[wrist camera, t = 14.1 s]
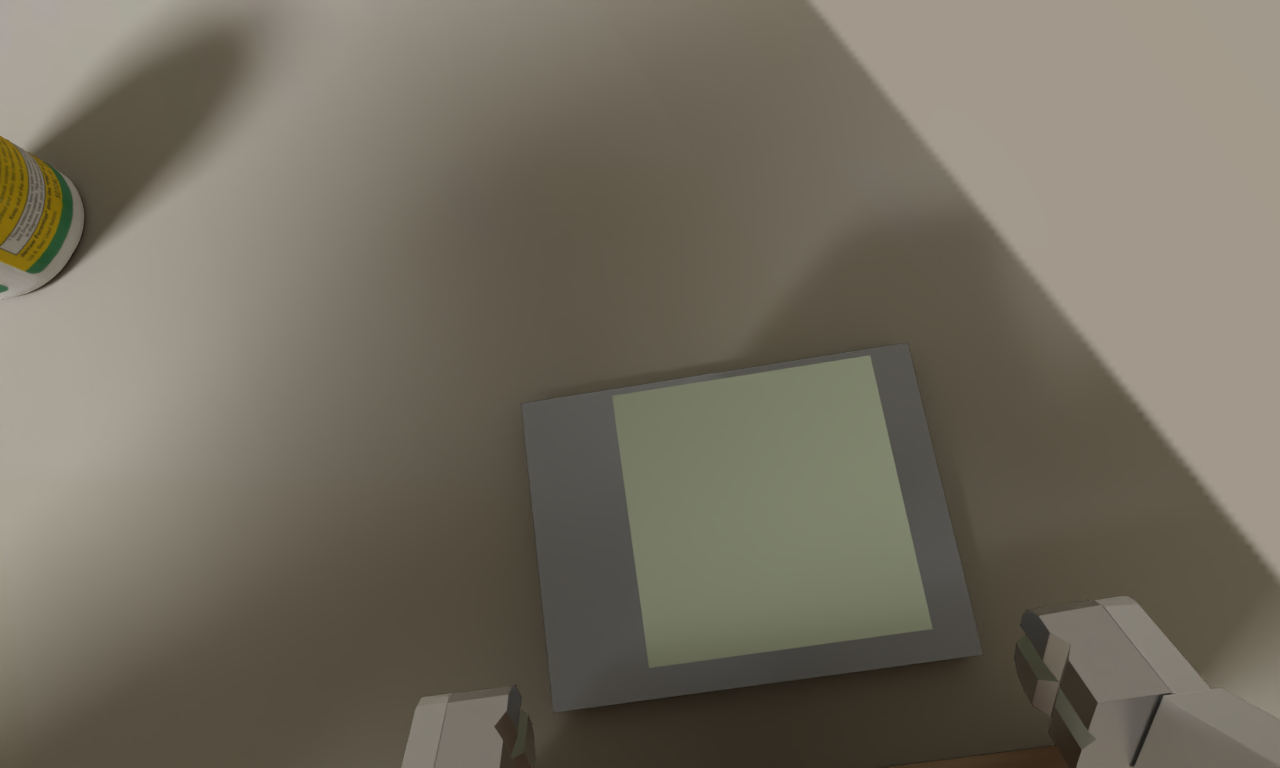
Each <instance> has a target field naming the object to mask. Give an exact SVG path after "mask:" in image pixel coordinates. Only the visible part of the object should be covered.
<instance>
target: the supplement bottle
mask: <svg viewBox="0 0 1280 768" xmlns="http://www.w3.org/2000/svg"><path fill="white" fill-rule="evenodd" d="M83 226H84V208H83V204H82V201H81V198H80V195H79V193H78V191H77V189H76V188H75V186H74V184H73V183H72V182H71V181H70V179H68V178H67V177H66V176H65V175H64V174H62V173H61V172H60V171H58V170H57V169H55V168H53V167H52V166H50V165H49V164H47V163H45V162H44V161H42V160H40V159H39V158H37V157H35V156H34V155H32V154H30V153H28V152H27V151H25V150H23V149H22V148H20V147H19V146H17V145H15V144H13V143H12V142H10V141H9V140H7V139H5V138H3V137H1V136H0V299H2V298H11V297H16V296H20V295H23V294H26V293H29V292H31V291H33V290H35V289H37V288H39V287H41V286H42V285H44V284H46V283H47V282H48V281H50V280H51V279H52V278H53V277H54V276H56V275H57V274H58V273H59V272H60V271H61V270H62V268H63V267H64V266H65V265H66V263H67V262H68V260H69V259H70V257H71V255H72V253H73V252H74V250H75V249H76V247H77V245H78V243H79V241H80V238H81V235H82V231H83Z"/></svg>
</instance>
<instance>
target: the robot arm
mask: <svg viewBox="0 0 1280 768" xmlns="http://www.w3.org/2000/svg"><path fill="white" fill-rule="evenodd" d="M1020 626H1021V627H1022V629H1023V630H1024V632H1025V634H1026V635H1025V636H1024V637H1023V638H1022V639H1021V640H1020V641H1019V642H1018V643H1017V644H1016V649H1015V656H1014V659H1015V665H1016V670H1017V675H1018V678H1019V680H1020V682H1021V685H1022V687H1023V690H1024V691H1025V693H1026V695H1027V697H1028V698H1029V700H1030V702H1031V704H1032V705H1033V706H1035V707H1036V708H1038V709H1039V710H1041V711H1042V712H1044V713H1045V714H1047V715H1048V716H1050V723H1049V731H1048V733H1049V734H1050V736H1051V738H1052V739H1053V741H1054V743H1055V744H1056V746H1057V748H1058V749H1059V751H1060V753H1061V754H1062V756H1063V758H1064V759H1065V761H1066V763H1067V764H1068V766H1069V768H1280V720H1279V719H1278V718H1276V717H1274V716H1272V715H1270V714H1269V713H1267V712H1265V711H1263V710H1261V709H1259V708H1258V707H1256V706H1254V705H1252V704H1250V703H1249V702H1247V701H1245V700H1243V699H1241V698H1240V697H1238V696H1236V695H1234V694H1232V693H1230V692H1229V691H1227V690H1225V689H1223V688H1212V689H1211V688H1210V687H1209V686H1208V684H1207V683H1206V682H1205V681H1204V680H1203V679H1202V677H1201V676H1200V675H1199V674H1198V673H1197V672H1196V670H1195V669H1194V668H1193V667H1192V666H1191V665H1190V664H1189V662H1188V661H1187V660H1186V659H1185V658H1184V657H1183V655H1182V654H1181V653H1180V652H1179V651H1178V650H1177V648H1176V647H1175V646H1174V645H1173V644H1172V643H1171V641H1170V640H1169V639H1168V638H1167V637H1166V636H1165V634H1164V633H1163V632H1162V631H1161V630H1160V629H1159V627H1158V626H1157V625H1156V624H1155V623H1154V622H1153V620H1152V619H1151V618H1150V617H1149V616H1148V615H1147V613H1146V612H1145V611H1144V610H1143V609H1142V608H1141V607H1140V605H1139V604H1138V603H1137V602H1136V601H1135V600H1133V599H1132V598H1130V597H1128V596H1117V597H1111V598H1105V599H1099V600H1093V601H1090V600H1086V601H1080V602H1073V603H1067V604H1061V605H1055V606H1049V607H1043V608H1036V609H1030V610H1027V611H1026V612H1025V613H1024V614H1023V616H1022V620H1021V624H1020ZM520 706H521V696H520V693H519V691H518V689H517V687H516V685H513V686H505V687H497V688H489V689H482V690H474V691H466V692H458V693H449V694H442V695H435V696H428V697H422V698H421V700H420V702H419V703H418V705H417V707H416V709H415V713H414V717H413V721H412V725H411V729H410V733H409V737H408V741H407V745H406V750H405V754H404V758H403V762H402V766H401V768H534V766H535V744H534V733H533V728H532V723H531V721H530V718H529V715H528V714H527V713H526V712H524V711H522V710H520Z"/></svg>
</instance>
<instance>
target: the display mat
mask: <svg viewBox="0 0 1280 768" xmlns="http://www.w3.org/2000/svg"><path fill="white" fill-rule="evenodd" d="M869 355H870V357H871V361H872V366H873V370H874V374H875V379H876V383H877V388H878V392H879V396H880V401H881V405H882V409H883V414H884V418H885V423H886V427H887V431H888V436H889V440H890V444H891V449H892V453H893V458H894V462H895V466H896V471H897V475H898V479H899V484H900V488H901V493H902V497H903V501H904V506H905V510H906V514H907V519H908V523H909V528H910V532H911V536H912V541H913V545H914V549H915V554H916V558H917V563H918V567H919V571H920V576H921V580H922V584H923V589H924V593H925V598H926V602H927V606H928V611H929V615H930V619H931V624H932V628H933V629H929V630H922V631H914V632H907V633H900V634H893V635H885V636H878V637H871V638H864V639H856V640H849V641H842V642H835V643H827V644H820V645H813V646H805V647H798V648H791V649H784V650H776V651H769V652H762V653H755V654H747V655H740V656H733V657H726V658H718V659H711V660H704V661H696V662H689V663H682V664H675V665H667V666H660V667H653V668H649V663H648V655H647V648H646V641H645V633H644V626H643V619H642V611H641V604H640V597H639V589H638V582H637V575H636V567H635V560H634V553H633V545H632V538H631V531H630V523H629V516H628V508H627V501H626V494H625V486H624V479H623V472H622V464H621V457H620V450H619V442H618V435H617V428H616V420H615V413H614V406H613V398H612V396H615V395H621V394H628V393H634V392H640V391H647V390H653V389H659V388H666V387H672V386H678V385H685V384H691V383H697V382H704V381H710V380H716V379H723V378H729V377H735V376H742V375H748V374H754V373H761V372H767V371H773V370H780V369H786V368H793V367H799V366H805V365H812V364H818V363H824V362H831V361H837V360H843V359H850V358H856V357H862V356H869ZM521 407H522V416H523V426H524V435H525V445H526V455H527V464H528V474H529V483H530V493H531V503H532V512H533V522H534V532H535V541H536V551H537V560H538V570H539V580H540V589H541V599H542V608H543V618H544V628H545V637H546V647H547V656H548V666H549V676H550V685H551V695H552V705H553V713H555V712H562V711H570V710H577V709H585V708H592V707H599V706H607V705H614V704H622V703H629V702H636V701H644V700H651V699H659V698H666V697H673V696H681V695H688V694H696V693H703V692H710V691H718V690H725V689H733V688H740V687H747V686H755V685H762V684H770V683H777V682H785V681H792V680H799V679H807V678H814V677H822V676H829V675H836V674H844V673H851V672H859V671H866V670H873V669H881V668H888V667H896V666H903V665H910V664H918V663H925V662H933V661H940V660H947V659H955V658H962V657H970V656H977V655H983V651H982V647H981V643H980V639H979V634H978V630H977V626H976V622H975V618H974V614H973V610H972V606H971V601H970V597H969V593H968V589H967V585H966V581H965V577H964V573H963V568H962V564H961V560H960V556H959V552H958V548H957V544H956V540H955V536H954V531H953V527H952V523H951V519H950V515H949V511H948V507H947V503H946V498H945V494H944V490H943V486H942V482H941V478H940V474H939V470H938V465H937V461H936V457H935V453H934V449H933V445H932V441H931V437H930V432H929V428H928V424H927V420H926V416H925V412H924V408H923V404H922V399H921V395H920V391H919V387H918V383H917V379H916V375H915V371H914V366H913V362H912V358H911V354H910V350H909V346H908V342H907V343H901V344H895V345H888V346H882V347H876V348H869V349H863V350H857V351H850V352H844V353H838V354H831V355H825V356H819V357H812V358H806V359H800V360H793V361H787V362H781V363H774V364H768V365H762V366H755V367H749V368H743V369H736V370H730V371H724V372H717V373H711V374H705V375H698V376H692V377H686V378H679V379H673V380H667V381H660V382H654V383H648V384H641V385H635V386H629V387H622V388H616V389H610V390H603V391H597V392H591V393H584V394H578V395H572V396H565V397H559V398H553V399H546V400H540V401H534V402H527V403H521Z"/></svg>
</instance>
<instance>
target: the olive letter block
mask: <svg viewBox="0 0 1280 768" xmlns="http://www.w3.org/2000/svg"><path fill="white" fill-rule="evenodd" d="M612 398H613V406H614V413H615V420H616V428H617V435H618V442H619V450H620V457H621V464H622V472H623V479H624V486H625V494H626V501H627V508H628V516H629V523H630V531H631V538H632V545H633V553H634V560H635V567H636V575H637V582H638V589H639V597H640V604H641V611H642V619H643V626H644V633H645V641H646V648H647V655H648V663H649V668H653V667H660V666H667V665H675V664H682V663H689V662H696V661H704V660H711V659H718V658H726V657H733V656H740V655H747V654H755V653H762V652H769V651H776V650H784V649H791V648H798V647H805V646H813V645H820V644H827V643H835V642H842V641H849V640H856V639H864V638H871V637H878V636H885V635H893V634H900V633H907V632H914V631H922V630H929V629H933V628H932V624H931V619H930V615H929V611H928V606H927V602H926V598H925V593H924V589H923V584H922V580H921V576H920V571H919V567H918V563H917V558H916V554H915V549H914V545H913V541H912V536H911V532H910V528H909V523H908V519H907V514H906V510H905V506H904V501H903V497H902V493H901V488H900V484H899V479H898V475H897V471H896V466H895V462H894V458H893V453H892V449H891V444H890V440H889V436H888V431H887V427H886V423H885V418H884V414H883V409H882V405H881V401H880V396H879V392H878V388H877V383H876V379H875V374H874V370H873V366H872V361H871V357H870V355H869V356H862V357H856V358H850V359H843V360H837V361H831V362H824V363H818V364H812V365H805V366H799V367H793V368H786V369H780V370H773V371H767V372H761V373H754V374H748V375H742V376H735V377H729V378H723V379H716V380H710V381H704V382H697V383H691V384H685V385H678V386H672V387H666V388H659V389H653V390H647V391H640V392H634V393H628V394H621V395H615V396H612Z"/></svg>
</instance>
